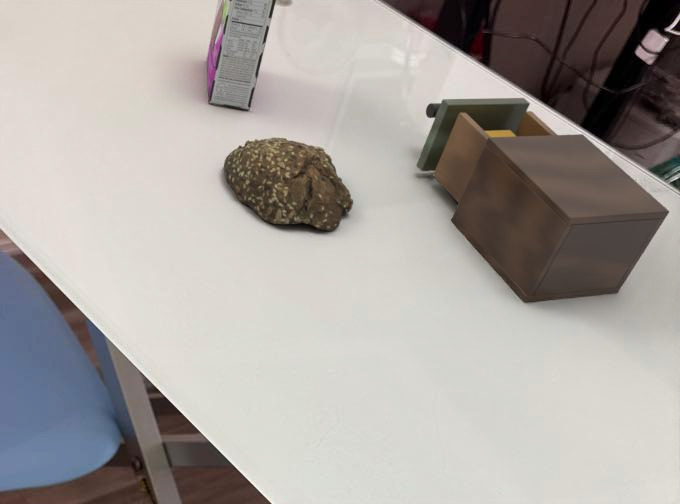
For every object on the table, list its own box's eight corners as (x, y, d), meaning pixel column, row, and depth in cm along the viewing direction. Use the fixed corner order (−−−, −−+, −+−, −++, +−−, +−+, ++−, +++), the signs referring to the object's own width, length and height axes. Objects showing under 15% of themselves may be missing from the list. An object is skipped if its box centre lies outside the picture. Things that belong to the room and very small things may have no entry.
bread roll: (210, 160, 99) (221, 113, 95) (321, 161, 102) (336, 115, 99) (252, 234, 91) (266, 186, 87) (370, 233, 95) (388, 186, 91)
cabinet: (450, 220, 99) (488, 137, 92) (540, 214, 103) (582, 133, 96) (524, 302, 91) (571, 218, 84) (618, 293, 95) (670, 211, 88)
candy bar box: (203, 59, 113) (236, -101, 101) (245, 66, 114) (283, -92, 102) (205, 105, 106) (240, -61, 94) (250, 112, 107) (291, -52, 94)
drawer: (396, 143, 106) (421, 77, 100) (473, 141, 109) (501, 77, 104) (477, 233, 96) (510, 165, 91) (559, 227, 100) (595, 162, 94)
